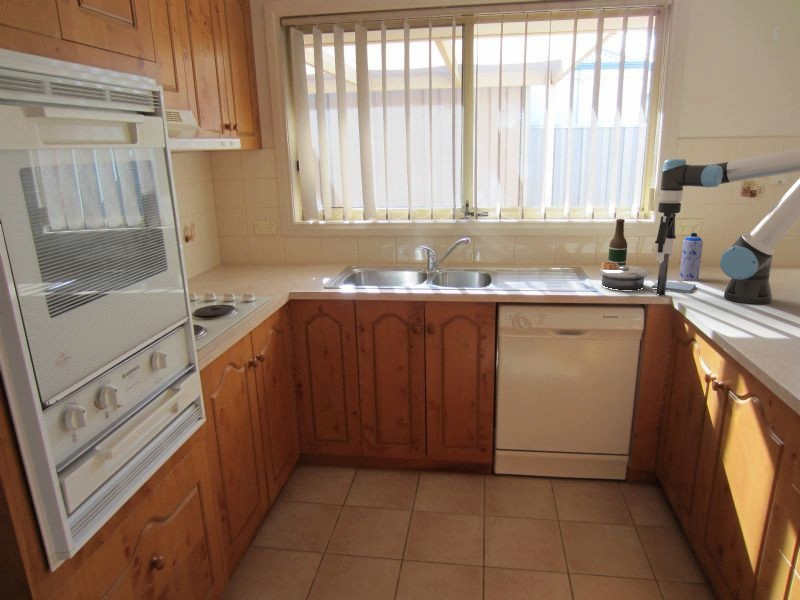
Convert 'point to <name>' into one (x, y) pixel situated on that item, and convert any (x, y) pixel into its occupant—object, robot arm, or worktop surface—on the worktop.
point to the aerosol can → (691, 257)
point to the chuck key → (662, 275)
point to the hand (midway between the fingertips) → (663, 258)
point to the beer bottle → (618, 245)
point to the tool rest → (678, 287)
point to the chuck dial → (622, 271)
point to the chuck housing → (622, 283)
